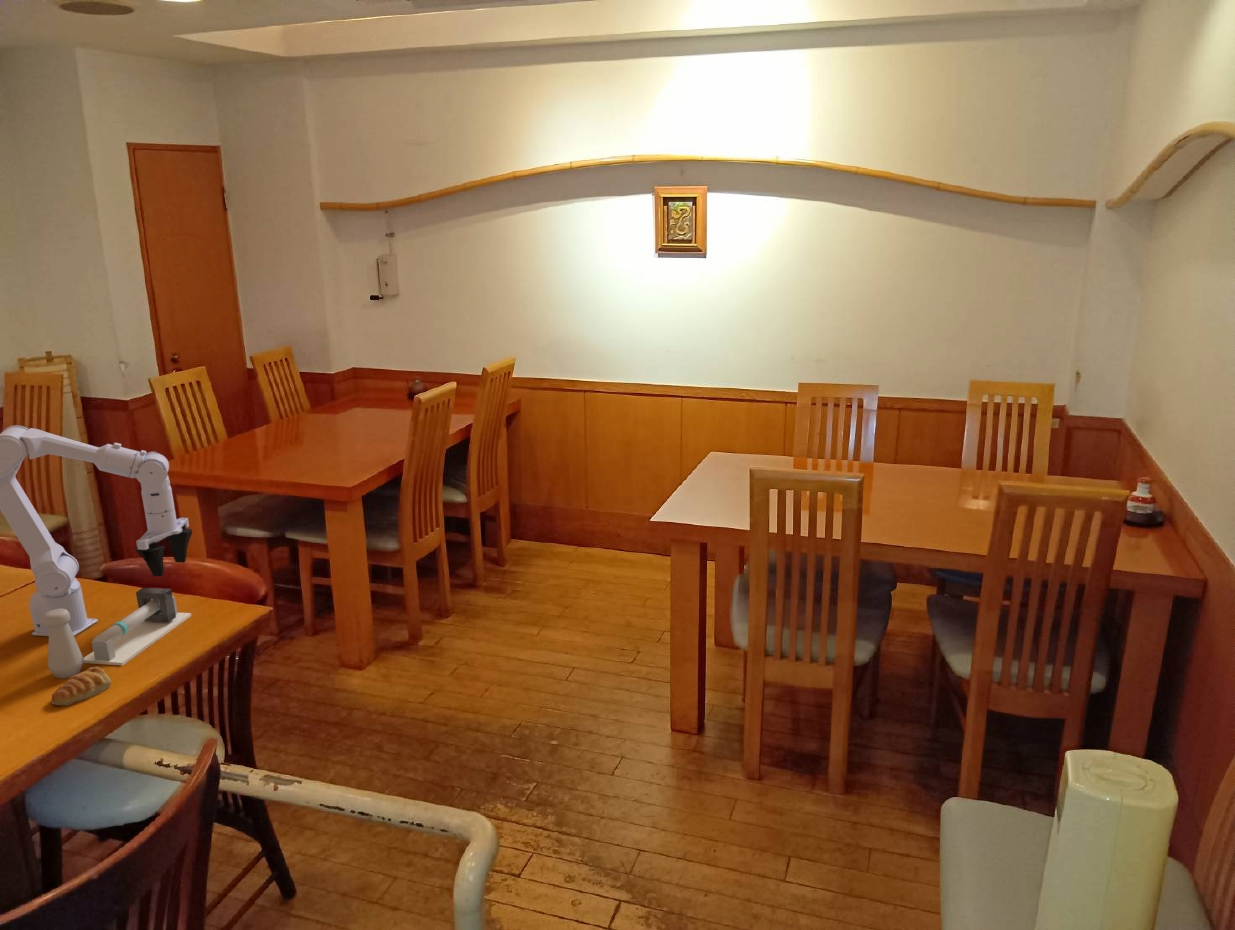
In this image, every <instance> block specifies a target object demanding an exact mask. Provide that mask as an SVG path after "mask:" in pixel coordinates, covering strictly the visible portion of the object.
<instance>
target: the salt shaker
mask: <svg viewBox="0 0 1235 930" xmlns="http://www.w3.org/2000/svg"><path fill="white" fill-rule="evenodd" d="M69 620H70V614H69V612H68V610H66V609H54V610H51V611H49V612H47V613H46V614H45V615H44V616H43V621H44V624H45V626H48V627H49V636H48V652H47V653H48V654H47V655H48V656H47V667H48V670H49V671H50V672H51V673H52V675H53V676H54V677H56V678H57V679H63V680H64V679H67V678H68V679H69V678H70V677H72V676H74V675H77V674H79V673H81V672H82V667H83V664H84V663H83V661H84V656H83V654H82V652H81V649H80V647H79V645H78V643H77V640H76V638H75V636H74V635H73V633H72V631H71V629H70V626H69V624H68V622H69Z"/></svg>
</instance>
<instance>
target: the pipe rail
mask: <svg viewBox="0 0 1235 930" xmlns="http://www.w3.org/2000/svg"><path fill="white" fill-rule="evenodd" d="M172 596H173V602H174V608H175V613H176V618H174V619H173V620H171V621H170V622H158V621H144V620H145V619H147V618H148V617H150V616H151V615H153V614H154V613H156V612H157V611H159V610H161V607H160V601H159V599H151V601H150V602H148V603H147V604H145V605H144V606H142V607H141V608H139V607H138V608H137V609H136V610H134V611H133V612H132V613H130V614H129V615H127V616H125V617H124V618H122V619H121V620H119V621H116V622H115V623H113V624H111V626H110V627H108V628H107V629H105V630H104V631H102V632H101V633H98V635H96V636H94V638H93V641H91V645H92V651H91V652H90V653H89V654H87V655H86V656H83V658H84V661H83V664H94V665H95V664H96V665H97V664H98V665H109V666H110V665H111V666H124V665H126V664H127V663H128V662H130V661H131V660H133V659H134V658H135V657H137V656H138V655H139V654H141V653H142V652H144V651H145V650H146V649H147V648H149V647H150V646H152V645H153V644H155V643H156V642H157V641H158V640H160V639H161V638H162V637H164V636H166V635H167V634H168V633H169V632H171V631H173V630H174V629H175V628H177V627H178V626H180V625H181V624H182V623H184V622H185V621H186V620H187V619H190V618H191V616H192V613H191V612H178V607H177V600H176V597H175V596H174V595H173V594H172Z"/></svg>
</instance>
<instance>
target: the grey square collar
mask: <svg viewBox="0 0 1235 930" xmlns="http://www.w3.org/2000/svg"><path fill="white" fill-rule="evenodd" d="M135 595H136V596H135V597H136V601H137V607H138V609H139V608H141V607H142V606H144V605H145V604H147V603H148V602H150V601H151V600H153V599H159V601H160V607H161V610H159V611H157V612H156V613H154V614H153V615H151V616H150V617H148V618H147V619H145V620H144V621H158V622H170V621H171V620H173V619H174V618H176V613H175V608H174V602H173V597H174V595H173V590H172V588H161V587H160V588H159V587H158V588H157V587H141V588H140V589H139V590H137V591H135ZM172 595H173V596H172Z"/></svg>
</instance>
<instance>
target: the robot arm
mask: <svg viewBox="0 0 1235 930" xmlns="http://www.w3.org/2000/svg"><path fill="white" fill-rule="evenodd" d="M47 455H52V456H57V457H64V458H68V459H72V460H78V461H82V462H88V463H92V464H94V465H95V467H96V468H97V469H98V470H99V471H101V472H105V473H108V474H109V473H110V474H113V475H118V476H121V477H126V478H130V479H136V480H137V481H138V482H139V483H140V486H141V498H142V503H143V510H144V515H145V516H144V517H145V521H146V527H147V531H146V532H145V533H144V534H143V535H142V536H141V537H140V538H139V539H137V540H136V541H135V543H136V546H135V552H136V553H137V554H138V555H140V557H141V558H142V559H143V560H144V561H145V563H146V565H147V567H148V569H149V571H150V572H151V574H152V576H153V577H162V576H164V572H165V568H164V567H165V566H164V554H165V553H164V552H165V549H166V546H164V545H163V546H162V545H160V546H159V545H158V544H157V543H158V542H160V541H162V540H164V539H167V541H168V544H169V546H170V548H171V553H172V557H173V559H174V562H175V563H185V562H186V561H187V553H188V552H187V551H188V548H189V547H188V546H189V542H190V539H191V537H192V535H193V529H192V528H189V526H190V523H189V518H188V517H179V518H177V514H176V509H175V508H176V507H175V502H174V497H173V489H172V486H171V482H170V477H169V474H168V472H169V470H170V462H169V460H168V458H166V456H164V455H163V454H162V453H158V452H157V451H150V452H149V451H148V452H147V450H143V449H142V450H141V451H139V450H135V449H130V448H127V447H123V446H122V443H119V442H113V444H110V443H106V444H105V445H102V446H99V447H98V446H96V445H95V446H94V445H91V444H88V443H84V442H81V441H77V440H74V439H71V438H67V437H66V436H61V435H57V434H54V433H50V432H47V431H44V430H41V429H38V428H32V427H30V428H27V427H26V426H23V425H10V426H8V427H6V428H4V429H3V430H2V432H0V513H1V514H2V516H4V518H5V520H6V521H7V523H8V525H9V527H10V528H11V529H12V531H13V533H14V534H15V536H16V537H17V539H18V541H19V543H20V544H21V546H22V547H23V549H24V550H25V552H26V553H27V555H28V557H29V561H30V570H31V572H32V574H33V575H34V584H35V588H36V589H37V590H36V591H34V592H33V594H31V596H30V600H29V604H28V605H29V606H28V607H29V611H30V615H31V619H32V623H33V624H32V625H33V629H34V631H33V632H31V635H32V636H38V637H39V636H40V637H49V627H48V626H45V624H44V621H43V616H44V615H45V614H46V613H47V612H49V611H51V610H54V609H66V610H68V612H69V614H70V620H69V622H68V624H69V626H70V629H71V631H72V633H73V635H74V637H75V636H77V635H78V634H80V633H81V632H83V631H84V630H86V629H88V628H89V627H91V626H93V625H94V624H95V623H98V621H99V619H97V618H91V617H90V618H89V617H88V616H87V611H86V610H87V609H86V607H85V602H84V601H85V599H84V597H83V591H82V590H83V589H82V586H81V583H80V582H79V581H78V580H77V578H76V576H77V575H78V572H79V570H80V565H79V562H78V560H77V559H76V557H74V556H73V555H71V554H69V553H68V552H67V551H66V550H65V548H64V547H63V546H62V545H60V544H59V543H57V542H56V541H55V539H54V538H53V537H52V534H51V533H50V531H49V530H48V528H47V527H46V525H45V523H44V522H43V520H42V519H41V517H40V516H39V514H38V512H37V510H36V508H35V507H34V506H33V504H32V502H31V501H30V499H29V497H28V496H27V494H26V492H25V491H24V489H23V487H22V486H21V484H20V483H19V481H18V479H17V477H16V475H17V473H18V471H19V470H20V467H21V465H22V462H23V461H24V460H25V459H26V458H27V457H28V456H29V457H28V458H29V460H34V459H37V458H41V457H43V456H47Z"/></svg>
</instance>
